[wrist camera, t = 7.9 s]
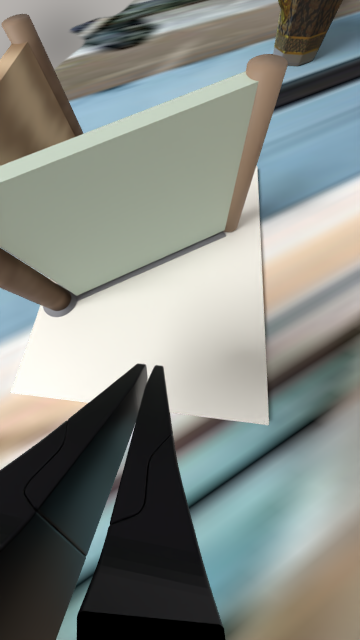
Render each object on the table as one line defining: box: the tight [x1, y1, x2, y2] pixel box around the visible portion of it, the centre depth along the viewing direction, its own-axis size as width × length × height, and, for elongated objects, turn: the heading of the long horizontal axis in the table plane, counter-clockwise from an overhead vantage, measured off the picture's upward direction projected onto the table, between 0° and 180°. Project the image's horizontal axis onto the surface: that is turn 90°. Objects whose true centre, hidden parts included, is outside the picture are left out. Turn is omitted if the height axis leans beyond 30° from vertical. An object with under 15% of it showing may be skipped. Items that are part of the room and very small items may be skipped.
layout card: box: [10, 166, 269, 425], centre depth 18 cm, size 28×22×1 cm
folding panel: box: [0, 54, 288, 296], centre depth 13 cm, size 18×2×10 cm, turn 115°
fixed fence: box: [0, 14, 83, 311], centre depth 14 cm, size 19×2×11 cm, turn 175°
